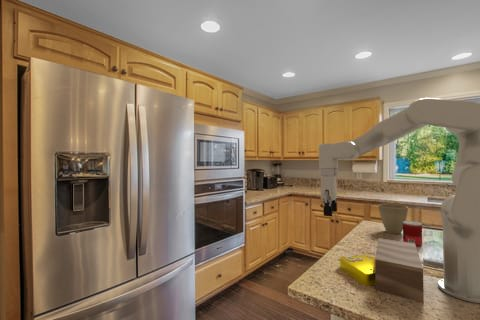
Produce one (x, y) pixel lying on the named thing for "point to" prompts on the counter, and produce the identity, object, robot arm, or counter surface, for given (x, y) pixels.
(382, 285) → the brown wooden block
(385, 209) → the plant pot
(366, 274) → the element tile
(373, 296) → the counter surface
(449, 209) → the robot arm
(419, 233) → the canned food
